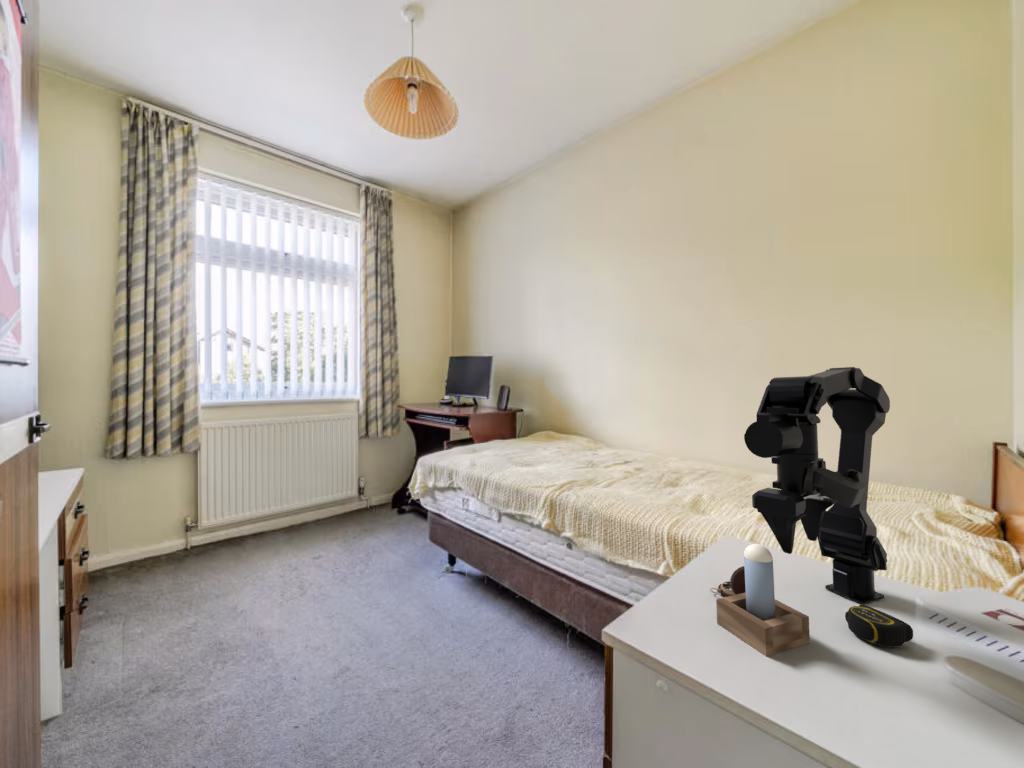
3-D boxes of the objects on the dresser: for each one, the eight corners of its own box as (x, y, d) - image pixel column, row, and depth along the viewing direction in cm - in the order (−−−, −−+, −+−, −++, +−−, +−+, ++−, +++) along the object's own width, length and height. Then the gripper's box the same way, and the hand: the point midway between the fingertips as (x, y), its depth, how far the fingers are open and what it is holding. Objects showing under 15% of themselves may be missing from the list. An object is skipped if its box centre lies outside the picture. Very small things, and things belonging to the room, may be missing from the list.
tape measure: (917, 647, 61) (916, 622, 61) (886, 657, 59) (885, 631, 59) (865, 623, 67) (864, 600, 67) (836, 631, 65) (835, 607, 65)
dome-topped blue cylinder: (759, 617, 68) (756, 538, 68) (782, 630, 64) (778, 547, 64) (741, 622, 66) (737, 542, 67) (763, 635, 63) (759, 551, 63)
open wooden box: (757, 612, 71) (756, 589, 71) (809, 642, 62) (808, 616, 62) (717, 623, 68) (716, 599, 68) (766, 656, 59) (765, 628, 59)
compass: (742, 586, 81) (741, 549, 81) (768, 607, 73) (766, 566, 73) (702, 587, 80) (701, 550, 81) (724, 608, 72) (722, 567, 73)
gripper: (833, 465, 55) (838, 580, 55) (878, 451, 66) (882, 548, 65) (748, 455, 65) (752, 553, 64) (800, 445, 75) (803, 529, 75)
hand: (800, 546), depth 67 cm, fingers open, 9 cm apart
